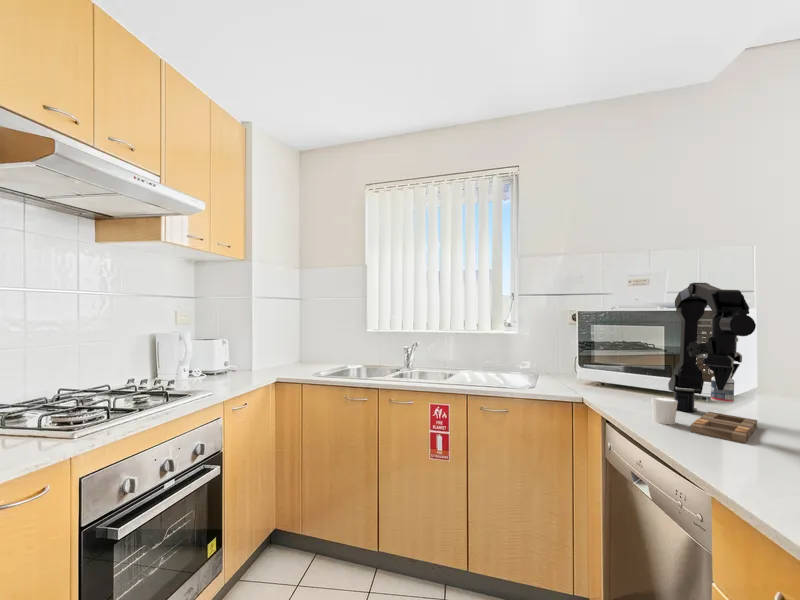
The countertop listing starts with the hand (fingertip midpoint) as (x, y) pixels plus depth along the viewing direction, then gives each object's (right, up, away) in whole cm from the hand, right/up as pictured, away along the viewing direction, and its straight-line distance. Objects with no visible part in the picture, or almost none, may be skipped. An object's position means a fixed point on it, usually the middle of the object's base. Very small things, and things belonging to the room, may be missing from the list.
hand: (722, 388), depth 118 cm
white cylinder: (-10, -12, +10) cm, 19 cm away
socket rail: (+4, -13, +4) cm, 14 cm away
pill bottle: (0, -4, 0) cm, 4 cm away
